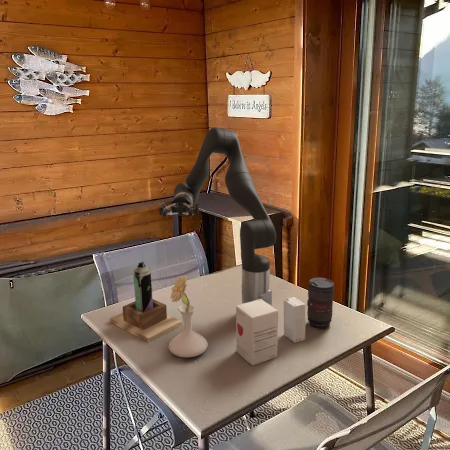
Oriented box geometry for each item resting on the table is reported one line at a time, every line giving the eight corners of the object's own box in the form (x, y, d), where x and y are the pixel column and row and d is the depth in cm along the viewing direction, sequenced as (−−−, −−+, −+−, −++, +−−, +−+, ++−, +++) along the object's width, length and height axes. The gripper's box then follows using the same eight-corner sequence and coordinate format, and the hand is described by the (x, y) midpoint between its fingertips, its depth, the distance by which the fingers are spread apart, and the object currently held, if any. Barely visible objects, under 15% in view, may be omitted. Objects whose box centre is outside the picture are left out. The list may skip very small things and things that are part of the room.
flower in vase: (171, 340, 144) (168, 264, 137) (208, 340, 144) (207, 264, 137) (165, 364, 132) (160, 282, 125) (205, 364, 131) (203, 282, 124)
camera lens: (317, 333, 147) (319, 289, 143) (301, 322, 154) (303, 280, 150) (337, 326, 151) (340, 283, 147) (320, 316, 158) (323, 275, 154)
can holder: (182, 325, 153) (181, 307, 151) (148, 342, 143) (147, 323, 141) (142, 307, 166) (141, 290, 164) (109, 322, 156) (108, 304, 154)
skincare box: (305, 340, 144) (307, 304, 140) (293, 343, 142) (294, 307, 138) (294, 331, 149) (295, 296, 145) (282, 334, 147) (283, 299, 144)
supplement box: (235, 351, 138) (234, 304, 134) (260, 343, 142) (261, 297, 138) (251, 366, 130) (252, 317, 126) (278, 357, 135) (279, 310, 130)
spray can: (152, 323, 152) (148, 265, 146) (135, 323, 152) (130, 265, 146) (154, 315, 157) (151, 259, 151) (138, 315, 157) (134, 259, 151)
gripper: (163, 193, 178) (156, 204, 162) (200, 193, 178) (197, 204, 162) (164, 213, 180) (157, 225, 164) (201, 212, 180) (198, 224, 164)
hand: (177, 214), depth 163 cm, fingers open, 8 cm apart
